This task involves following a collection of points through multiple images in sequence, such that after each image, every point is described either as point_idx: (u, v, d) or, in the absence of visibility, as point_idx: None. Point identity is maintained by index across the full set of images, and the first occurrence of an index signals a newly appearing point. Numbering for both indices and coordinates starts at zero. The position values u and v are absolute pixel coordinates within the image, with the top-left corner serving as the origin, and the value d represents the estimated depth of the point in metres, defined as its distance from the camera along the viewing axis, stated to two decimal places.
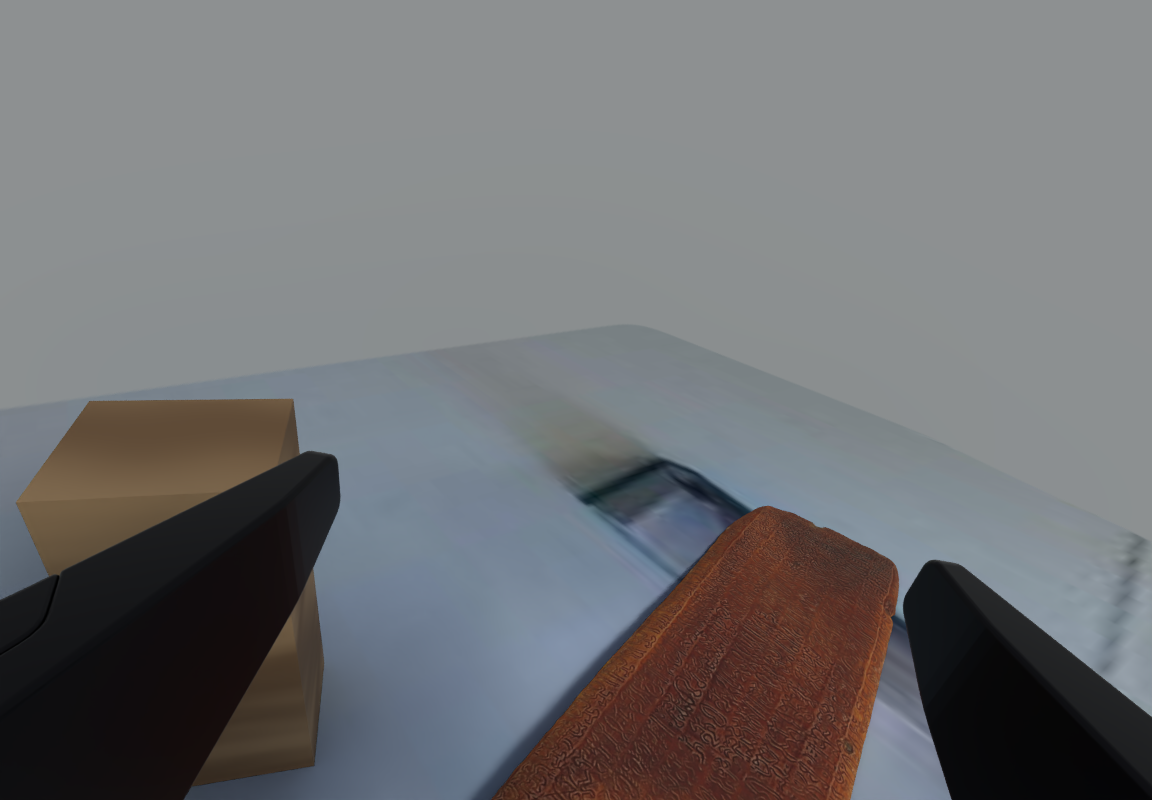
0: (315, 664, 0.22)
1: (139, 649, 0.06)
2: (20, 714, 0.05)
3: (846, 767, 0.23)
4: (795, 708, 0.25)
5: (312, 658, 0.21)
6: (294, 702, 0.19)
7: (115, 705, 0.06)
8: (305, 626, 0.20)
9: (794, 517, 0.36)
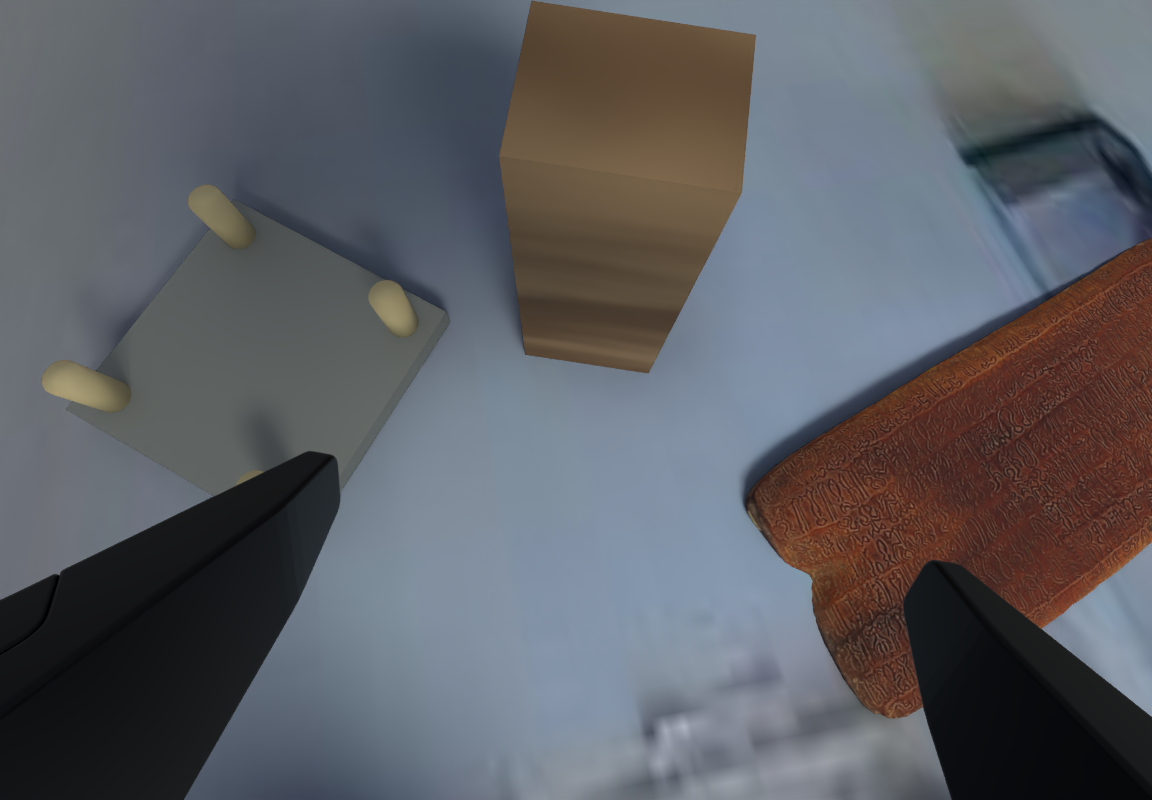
0: None
1: (138, 649, 0.06)
2: (19, 714, 0.05)
3: (1140, 540, 0.23)
4: (1117, 475, 0.23)
5: None
6: (657, 338, 0.21)
7: (114, 705, 0.06)
8: None
9: None
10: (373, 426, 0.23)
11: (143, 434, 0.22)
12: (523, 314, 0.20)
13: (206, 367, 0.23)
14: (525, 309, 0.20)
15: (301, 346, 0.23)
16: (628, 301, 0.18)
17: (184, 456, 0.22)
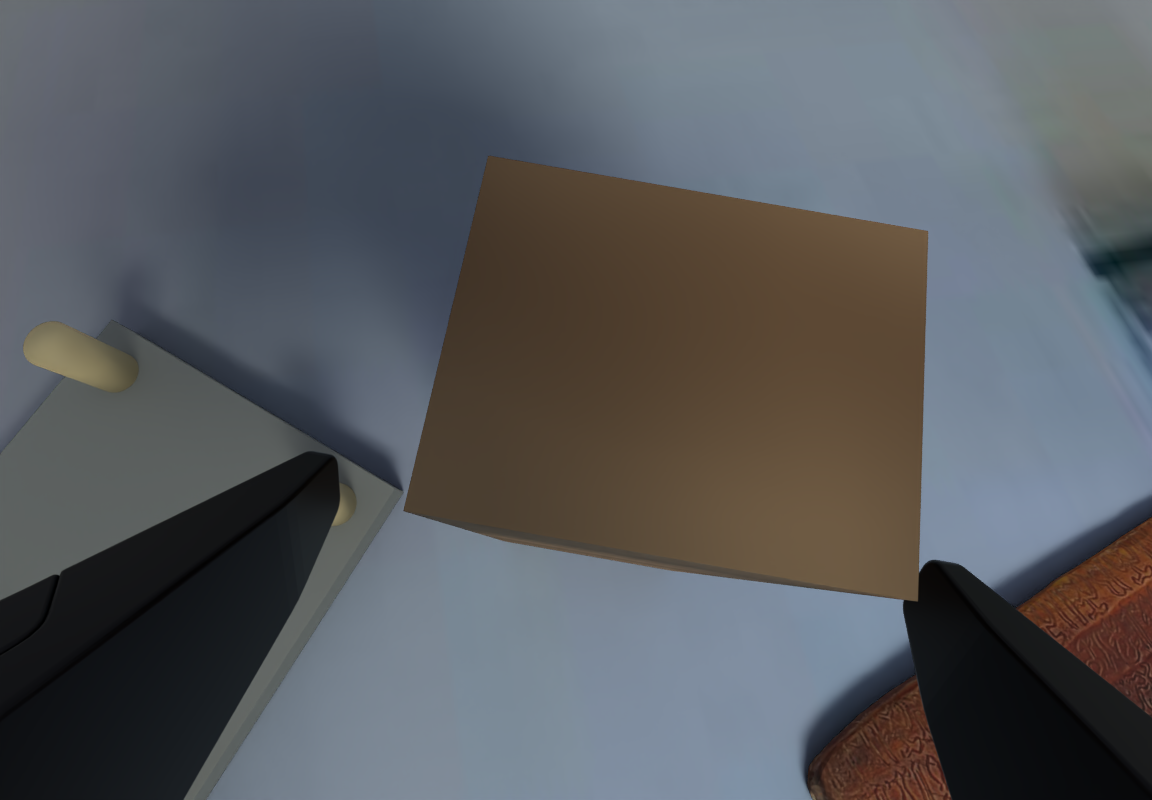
0: None
1: (139, 649, 0.06)
2: (19, 714, 0.05)
3: None
4: None
5: None
6: (690, 572, 0.14)
7: (115, 705, 0.06)
8: None
9: None
10: (286, 659, 0.16)
11: None
12: (495, 537, 0.14)
13: (56, 568, 0.16)
14: None
15: None
16: (653, 564, 0.12)
17: None
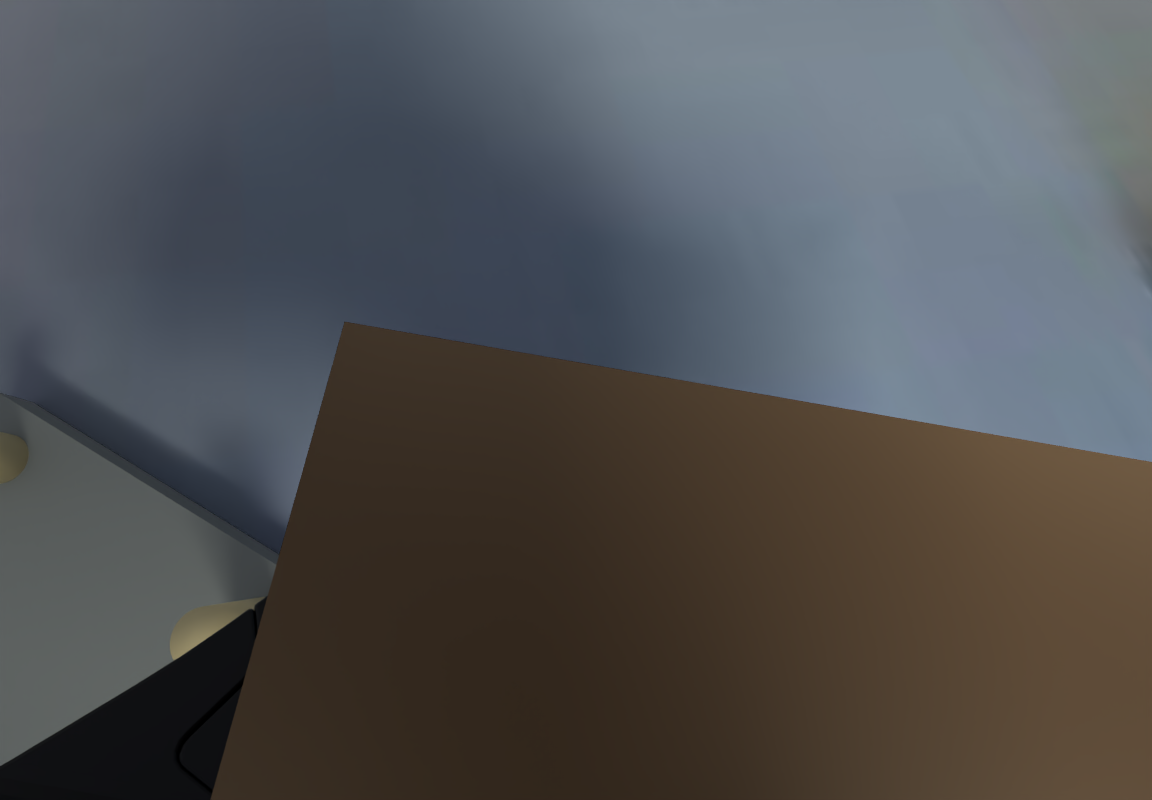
0: None
1: None
2: None
3: None
4: None
5: None
6: None
7: None
8: None
9: None
10: None
11: None
12: None
13: None
14: None
15: (86, 668, 0.14)
16: None
17: None
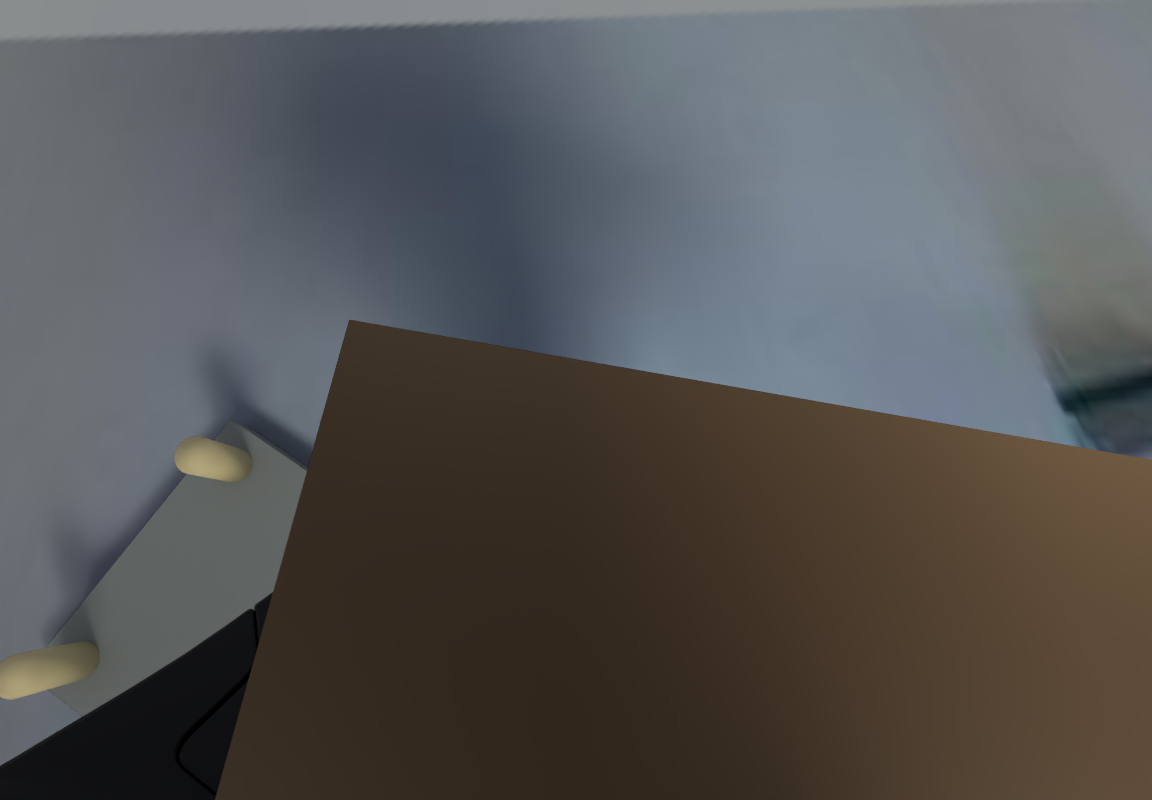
0: None
1: None
2: None
3: None
4: None
5: None
6: None
7: None
8: None
9: None
10: None
11: None
12: None
13: (186, 629, 0.20)
14: None
15: None
16: None
17: None
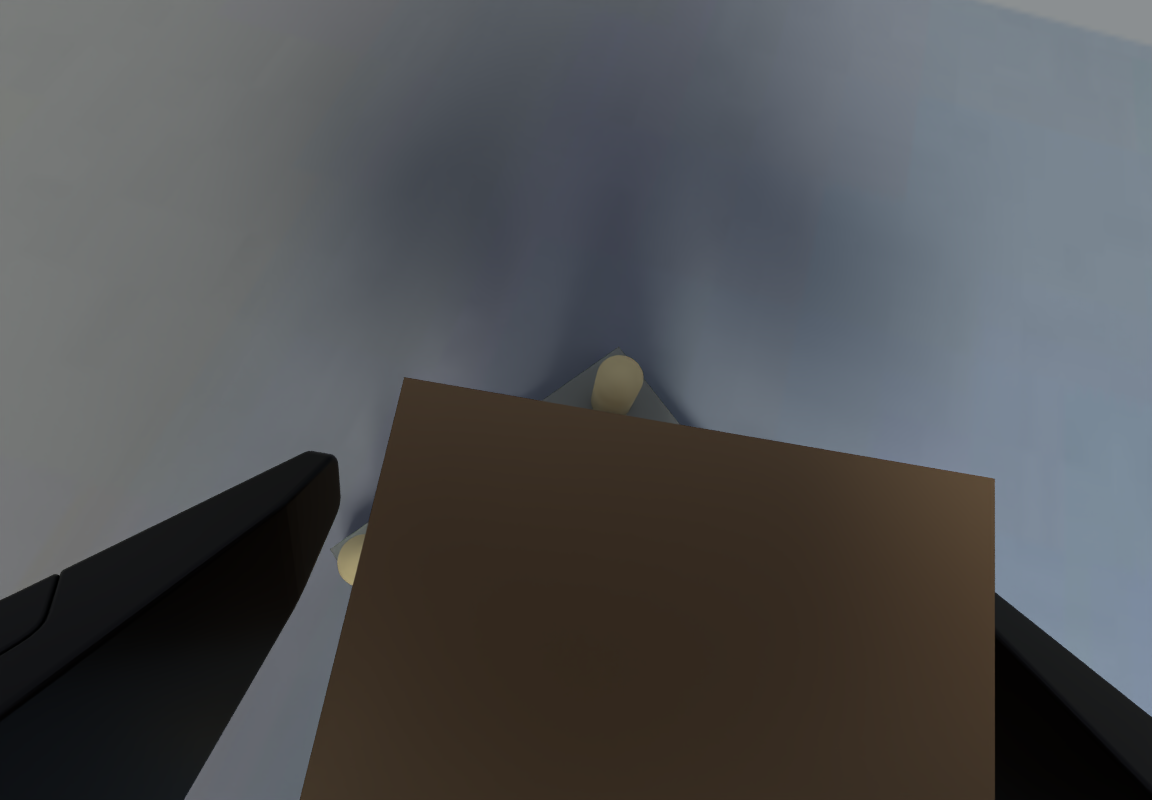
0: None
1: (139, 649, 0.06)
2: (20, 714, 0.05)
3: None
4: None
5: None
6: None
7: (115, 705, 0.06)
8: None
9: None
10: None
11: None
12: None
13: None
14: None
15: None
16: None
17: None
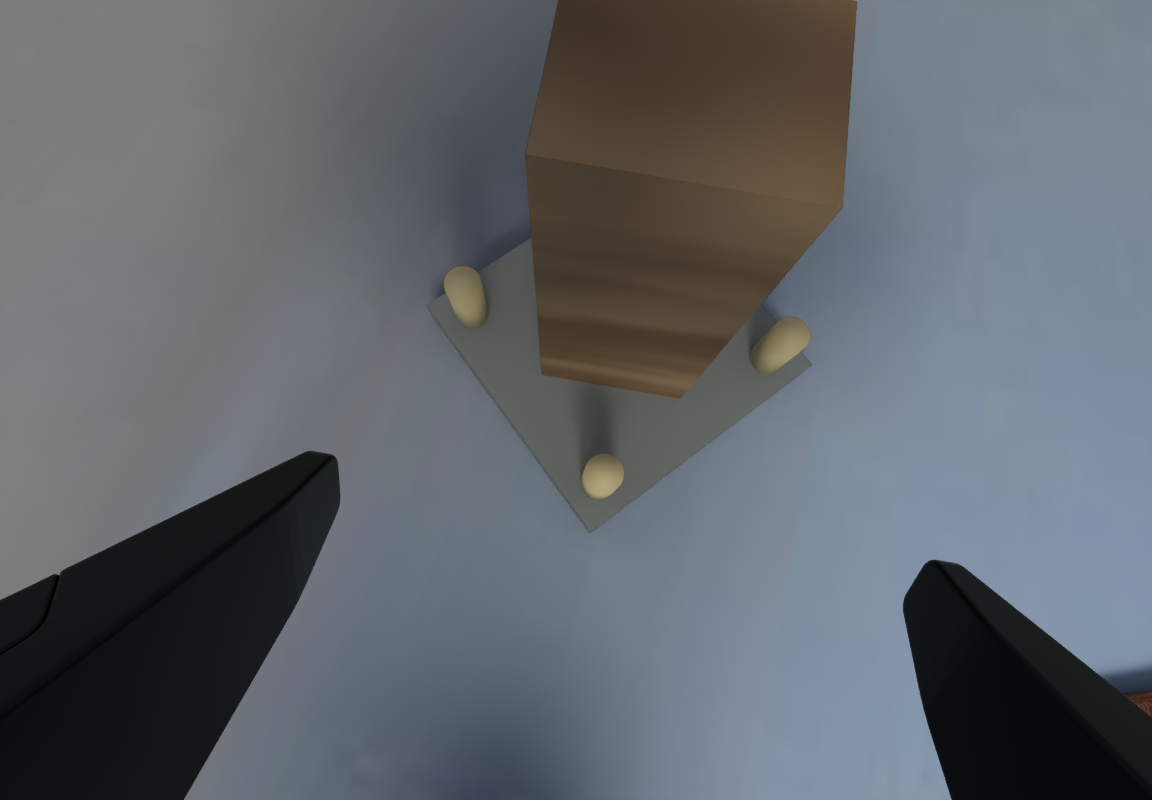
0: None
1: (139, 649, 0.06)
2: (19, 714, 0.05)
3: None
4: None
5: None
6: (697, 365, 0.18)
7: (115, 705, 0.06)
8: None
9: None
10: (701, 448, 0.21)
11: (487, 360, 0.22)
12: (542, 335, 0.18)
13: None
14: (545, 330, 0.17)
15: None
16: (670, 327, 0.15)
17: (516, 398, 0.21)
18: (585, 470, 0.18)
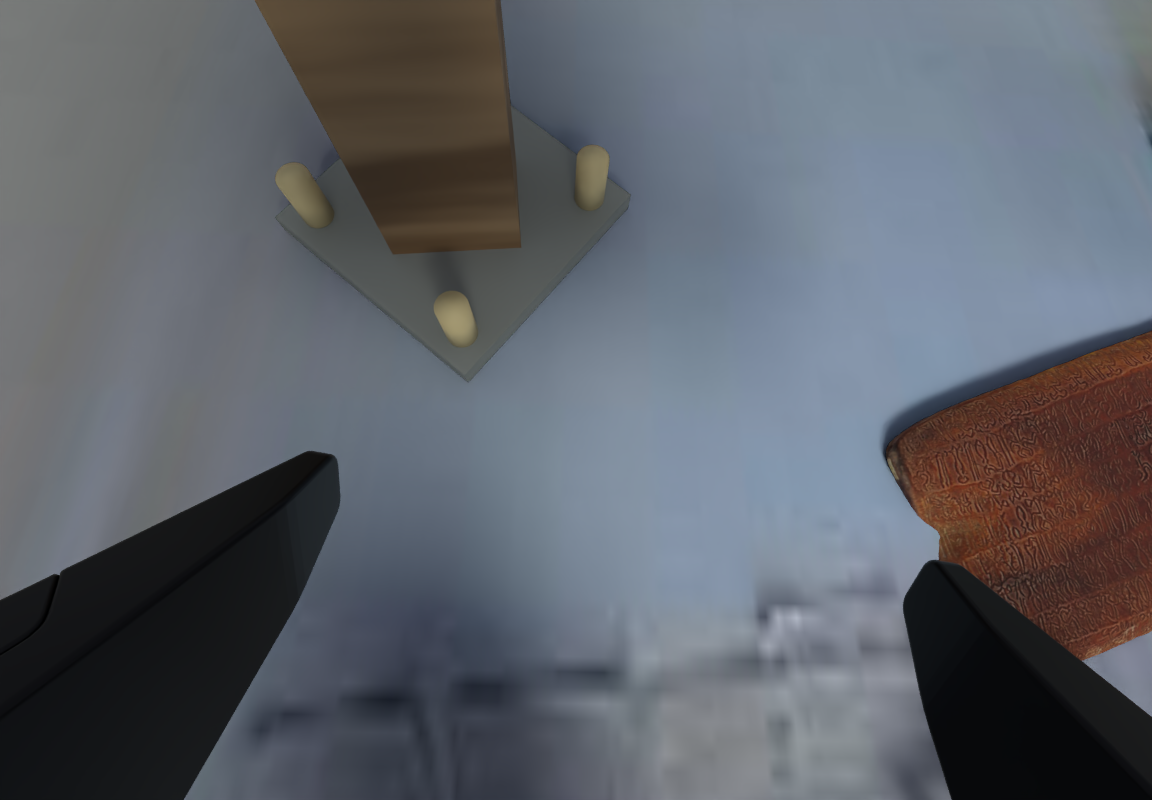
0: (514, 159, 0.22)
1: (139, 649, 0.06)
2: (19, 714, 0.05)
3: None
4: None
5: (513, 153, 0.21)
6: (506, 192, 0.20)
7: (115, 705, 0.06)
8: (509, 119, 0.19)
9: None
10: (548, 285, 0.24)
11: (340, 252, 0.24)
12: (363, 193, 0.20)
13: None
14: (362, 184, 0.19)
15: None
16: (454, 143, 0.18)
17: (374, 279, 0.24)
18: (434, 308, 0.21)
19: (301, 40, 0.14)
